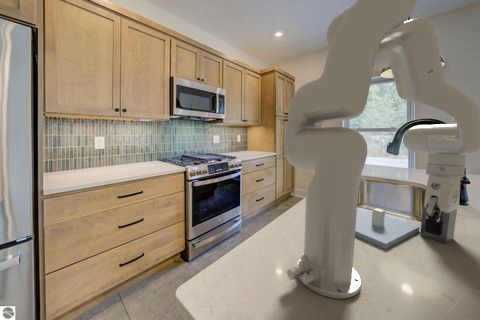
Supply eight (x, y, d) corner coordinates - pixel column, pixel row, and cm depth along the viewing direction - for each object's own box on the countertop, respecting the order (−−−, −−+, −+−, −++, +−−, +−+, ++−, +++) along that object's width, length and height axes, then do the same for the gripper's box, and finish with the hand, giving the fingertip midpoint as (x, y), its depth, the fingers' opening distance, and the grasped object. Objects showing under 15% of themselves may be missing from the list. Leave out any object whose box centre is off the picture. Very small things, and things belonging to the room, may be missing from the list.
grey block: (445, 243, 55) (449, 212, 54) (420, 235, 60) (423, 206, 59) (453, 238, 57) (457, 208, 56) (427, 230, 62) (431, 203, 61)
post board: (385, 249, 52) (387, 225, 52) (337, 227, 65) (338, 208, 64) (419, 231, 62) (421, 211, 61) (371, 215, 74) (372, 198, 73)
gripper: (451, 175, 49) (443, 244, 51) (473, 169, 57) (465, 229, 59) (413, 170, 55) (407, 232, 57) (438, 166, 63) (432, 220, 66)
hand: (437, 230), depth 58 cm, fingers closed on grey block, 5 cm apart
